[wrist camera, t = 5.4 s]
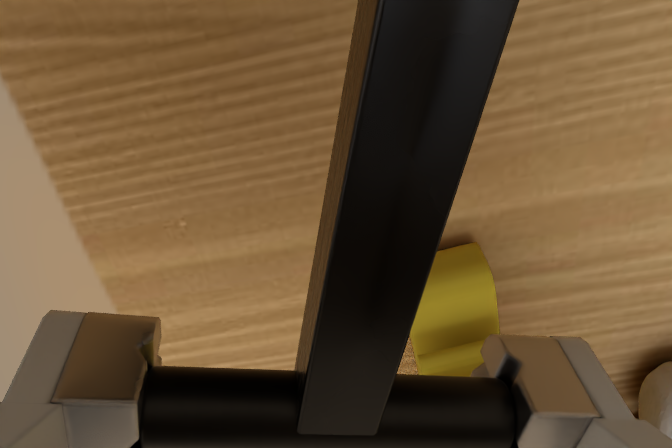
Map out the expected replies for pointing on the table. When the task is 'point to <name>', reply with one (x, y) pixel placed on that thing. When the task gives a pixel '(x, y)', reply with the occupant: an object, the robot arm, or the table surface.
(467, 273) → the decorative sign
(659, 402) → the mug
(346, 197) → the lever
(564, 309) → the table surface
